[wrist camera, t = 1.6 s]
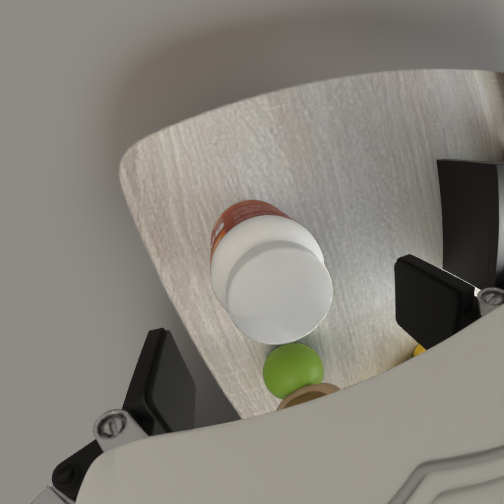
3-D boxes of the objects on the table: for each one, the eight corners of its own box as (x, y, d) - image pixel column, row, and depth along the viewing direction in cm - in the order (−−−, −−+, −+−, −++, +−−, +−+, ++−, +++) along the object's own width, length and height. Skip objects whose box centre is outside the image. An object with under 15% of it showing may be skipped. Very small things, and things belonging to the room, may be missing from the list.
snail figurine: (329, 353, 27) (381, 439, 15) (274, 383, 27) (303, 478, 16) (308, 316, 25) (365, 408, 14) (248, 350, 25) (271, 455, 14)
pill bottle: (205, 205, 21) (195, 241, 11) (284, 193, 22) (346, 218, 11) (218, 280, 23) (223, 368, 12) (291, 268, 24) (347, 342, 13)
